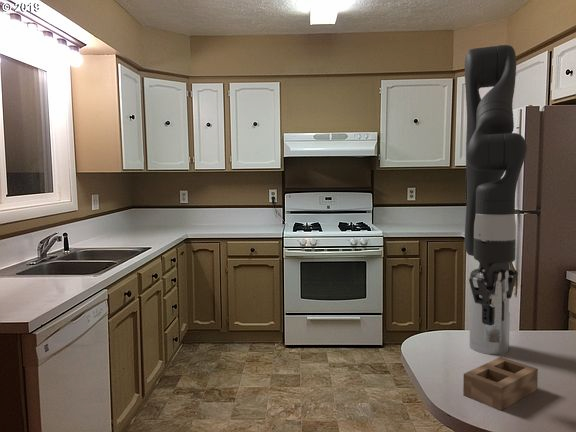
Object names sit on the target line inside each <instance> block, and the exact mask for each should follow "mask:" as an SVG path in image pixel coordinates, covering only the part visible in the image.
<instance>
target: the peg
mask: <svg viewBox="0 0 576 432" xmlns="http://www.w3.org/2000/svg"><path fill="white" fill-rule="evenodd" d="M486 289H487V290H493V289H490V288H486ZM488 297H489V299H490V295H489V294H488ZM494 307H495V319H494V325H491V326H490V325H486V324H485V340H486V341H488V342H493V343H499V342H501V320H502V281H500V282H499V291H498V295H496V296H495V305H494Z"/></svg>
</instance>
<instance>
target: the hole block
mask: <svg viewBox="0 0 576 432" xmlns="http://www.w3.org/2000/svg"><path fill="white" fill-rule="evenodd" d="M538 371H539V368H537V367H534V366H530V365H527V364H525V363H522V362H521V363H520V362H518V361H514V360H511V359H509V358H506V357H502V356H500V357H497V358H495V359H493V360H490V361H489V362H486V363H484V364H482V365H479V366H478V367H476V368H473V369H471V370H469V371H466V372H464V373H463V384H462V386H463V388H462V390H463V396H464V397H468V398H470V399H471V400H474V401H477V402H480V403H481V404H484V405H486V406H489V407H491V408H492V409H496V410H498V411H503V410H505V409H506V408H508V407H511V406H512V405H514V404H515V403H517V402H519V401H520V400H522V399H523V398H526V397H527V396H529V395H531V394H533V393H534V392H536V391H537V390H538V379H539V377H538V374H539V372H538Z"/></svg>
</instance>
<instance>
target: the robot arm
mask: <svg viewBox="0 0 576 432" xmlns="http://www.w3.org/2000/svg"><path fill="white" fill-rule="evenodd" d="M516 76H517V55H516V50H515V49H514V47H513V46H511V45H510V44H509V45H508V44H500V45H492V46H485V47H477V48H470V49H469V50H468V51H467V52H466V55H465V58H464V85H465V101H466V134H465V135H466V138H465V139H466V140H465V141H466V142H465V166H466V167H465V171H466V175H465V176H466V177H465V178H466V208H465V209H466V210H465V223H464V225H465V226H464V249H465V252H466V254H467V255H468V256H473V259H474V260H475V261H477V262H478V263H479V264H478V265H479V266H478V268H476V269H473V270H471V271H470V276H469V278H468V281H469V287H470V288H469V343H468V344H469V348H470V349H471V350H473V351H475V352H478V353H482V354H485V355H486V354H487V355H503V354H507V353H508V352H509V348H510V327H511V326H510V325H511V324H510V322H511V321H510V320H511V319H510V318H511V317H510V316H511V314H510V299H512V297H513V293H514V292H513V291H514V287H515V283H516V279H517V274H518V271H517V270H516V269H511V268H510V266H511V265H510V264H511V263H513V262H515V260H516V250H517V249H516V247H517V245H516V244H517V243H516V242H517V241H516V240H517V222H516V215H515V213H516V192H517V185H518V181H519V177H520V173H521V170H522V168H523V165H524V162H525V159H526V155H527V153H528V151H527V150H528V145H527V142H526V139H525V138H524V137H523V135H521V134H520V133H517V132H514V129H515V125H514V124H515V122H514V111H513V103H514V102H513V101H514V94H515V88H516ZM482 88H491V89H490V90H489V91H487V92H486V94H485V95H484V96H482V98H481V95H480V89H482ZM500 281H502V320H501V342H499V343H493V342H488V341H486V340H485V324H486V325H490V326H491V325H494V319H495V307H494V305H495V296H496V295H498V291H499V282H500ZM486 288H490V289H493V290H487V289H486ZM488 294H489V295H490V299H489V297H488Z"/></svg>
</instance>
